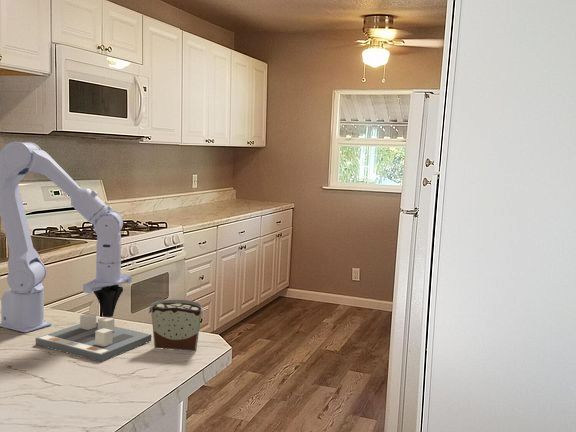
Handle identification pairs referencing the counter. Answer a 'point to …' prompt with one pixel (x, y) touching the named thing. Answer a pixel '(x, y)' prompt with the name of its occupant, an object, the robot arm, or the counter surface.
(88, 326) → the beige small block
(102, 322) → the tab
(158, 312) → the food container
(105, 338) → the tab
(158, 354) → the counter surface
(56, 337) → the switch board
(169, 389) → the counter surface
